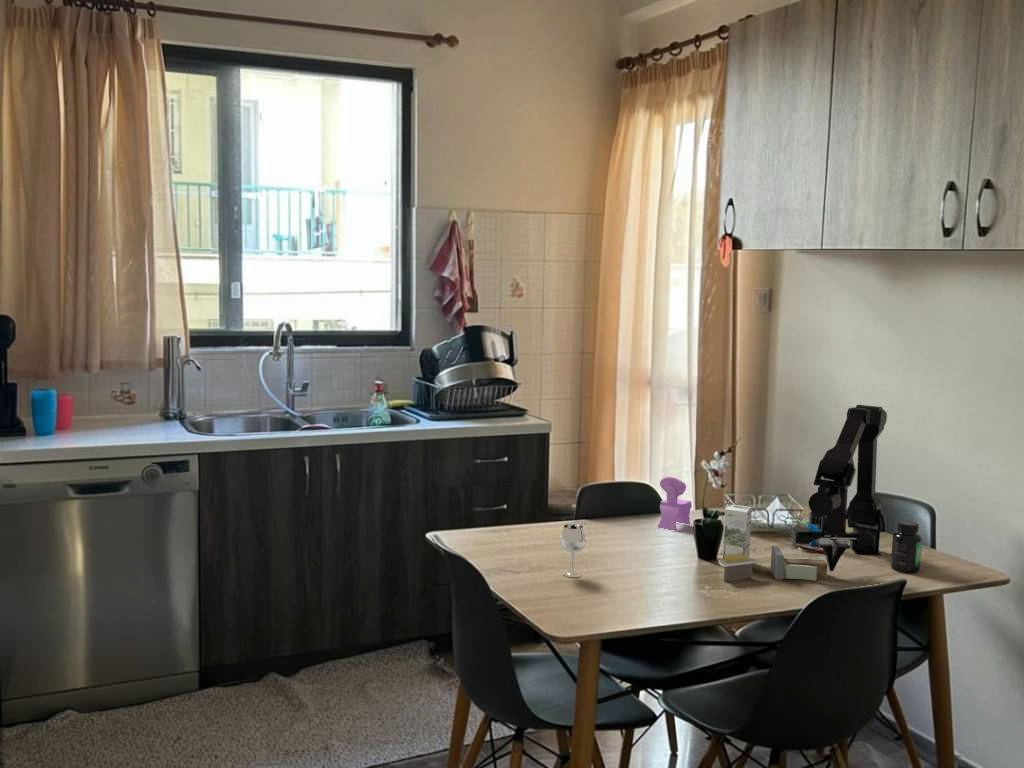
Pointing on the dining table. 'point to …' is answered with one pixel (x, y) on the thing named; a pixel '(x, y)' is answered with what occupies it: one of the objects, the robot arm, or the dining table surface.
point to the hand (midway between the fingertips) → (831, 570)
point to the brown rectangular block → (819, 564)
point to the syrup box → (737, 529)
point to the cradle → (799, 571)
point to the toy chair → (673, 504)
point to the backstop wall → (777, 562)
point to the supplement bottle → (906, 548)
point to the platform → (737, 566)
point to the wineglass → (572, 541)
